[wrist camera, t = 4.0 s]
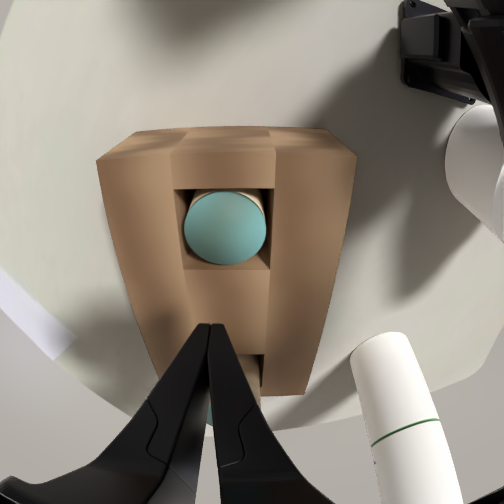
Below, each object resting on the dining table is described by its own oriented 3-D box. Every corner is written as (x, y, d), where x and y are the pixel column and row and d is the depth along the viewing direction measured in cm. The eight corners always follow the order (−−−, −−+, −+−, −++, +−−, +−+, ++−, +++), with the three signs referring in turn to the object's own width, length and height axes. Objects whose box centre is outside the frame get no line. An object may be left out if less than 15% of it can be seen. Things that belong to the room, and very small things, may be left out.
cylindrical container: (352, 376, 33) (388, 568, 13) (346, 344, 30) (394, 579, 9) (406, 359, 32) (459, 543, 12) (409, 323, 28) (482, 544, 8)
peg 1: (261, 157, 18) (267, 193, 14) (260, 214, 21) (264, 264, 16) (197, 158, 18) (180, 194, 14) (201, 214, 21) (188, 264, 16)
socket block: (325, 129, 18) (357, 157, 13) (296, 342, 29) (304, 394, 24) (135, 131, 17) (95, 160, 12) (174, 341, 29) (165, 393, 24)
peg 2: (259, 338, 22) (262, 406, 17) (257, 368, 24) (259, 429, 19) (204, 338, 22) (198, 405, 17) (209, 367, 24) (205, 428, 19)
